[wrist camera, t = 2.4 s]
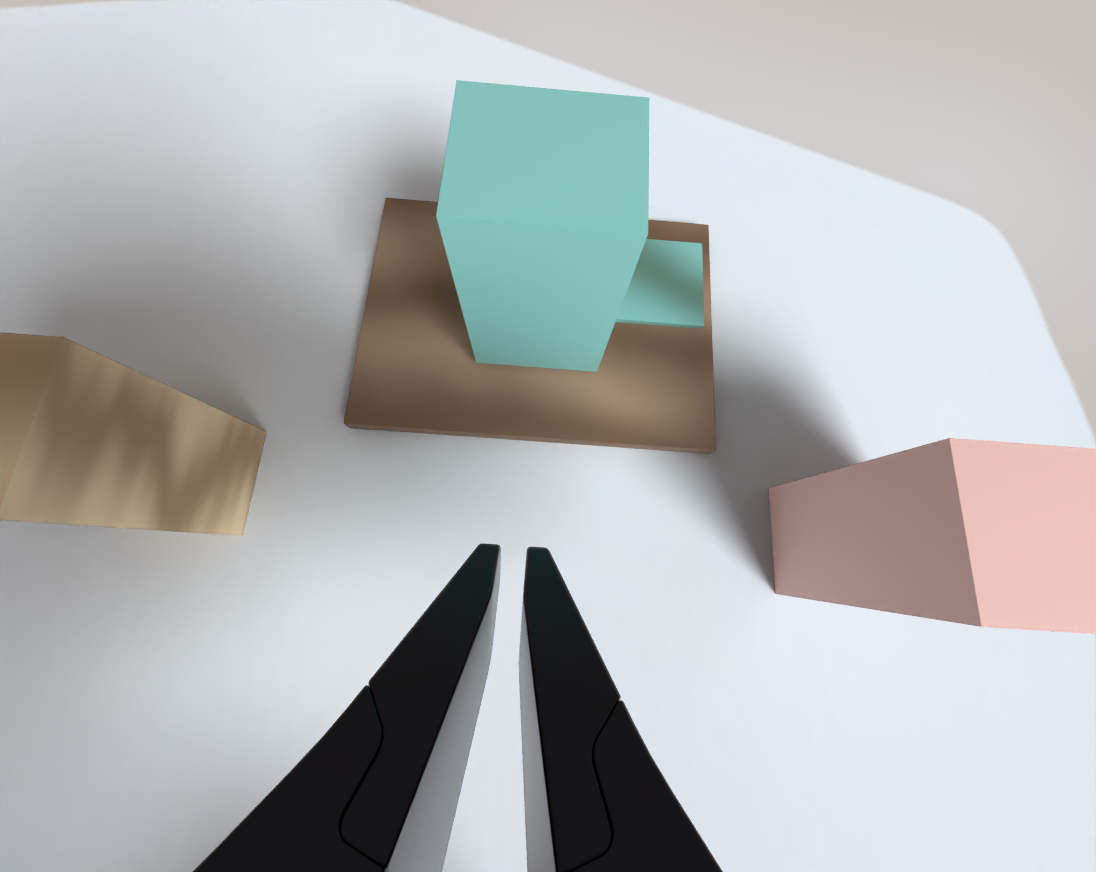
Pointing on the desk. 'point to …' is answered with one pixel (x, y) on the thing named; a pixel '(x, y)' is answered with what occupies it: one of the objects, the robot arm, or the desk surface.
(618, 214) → the teal block
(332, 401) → the desk surface
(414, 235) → the walnut board
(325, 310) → the desk surface
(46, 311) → the desk surface
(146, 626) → the desk surface
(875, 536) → the rose block
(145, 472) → the oak block
